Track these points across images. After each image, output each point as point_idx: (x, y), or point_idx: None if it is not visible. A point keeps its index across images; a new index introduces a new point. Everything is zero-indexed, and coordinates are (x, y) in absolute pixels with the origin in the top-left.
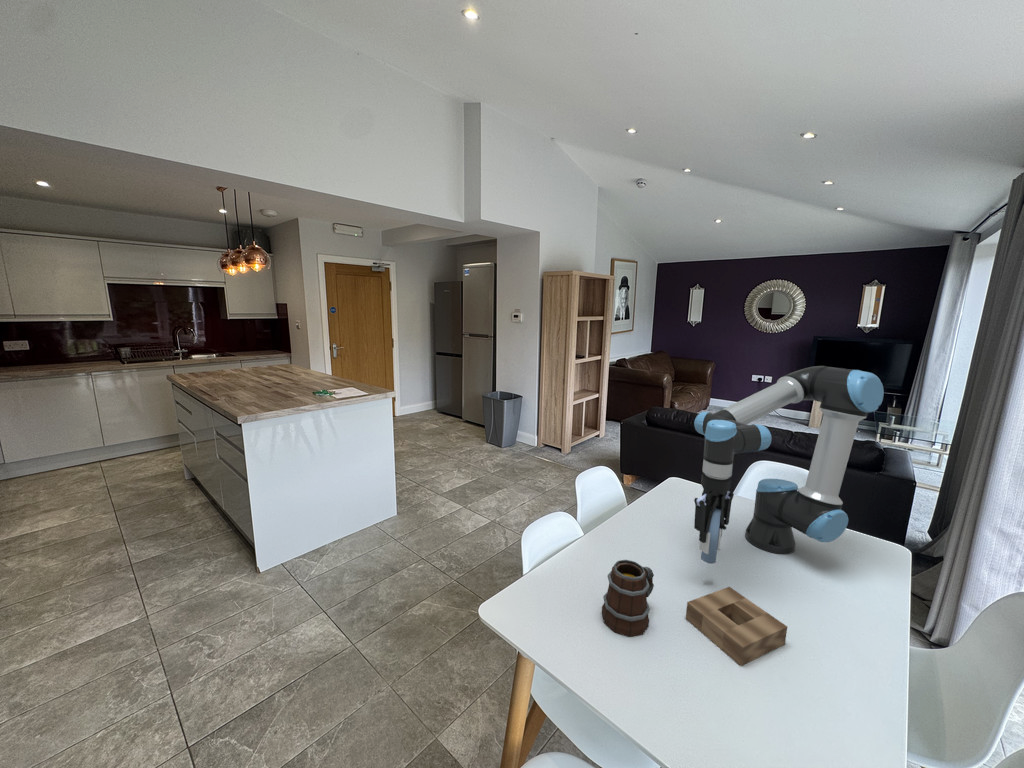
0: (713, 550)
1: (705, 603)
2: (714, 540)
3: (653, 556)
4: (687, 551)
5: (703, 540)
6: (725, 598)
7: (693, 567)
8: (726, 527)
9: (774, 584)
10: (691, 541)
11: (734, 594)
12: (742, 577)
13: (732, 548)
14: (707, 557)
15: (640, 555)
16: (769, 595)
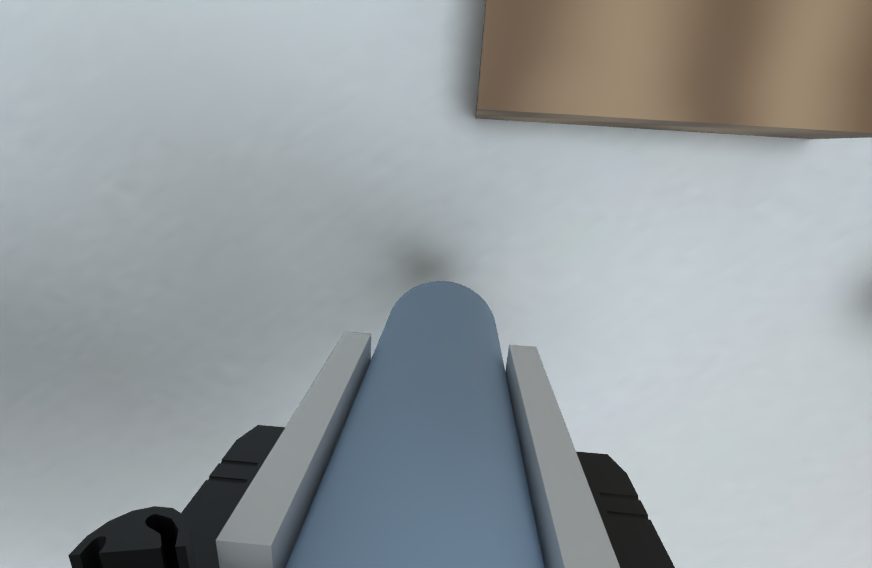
0: (464, 338)
1: (825, 60)
2: (467, 415)
3: None
4: None
5: (625, 486)
6: (635, 27)
7: None
8: (83, 543)
9: (86, 93)
10: None
11: (530, 25)
12: (209, 216)
13: (66, 385)
14: (495, 332)
15: None
16: (195, 42)
